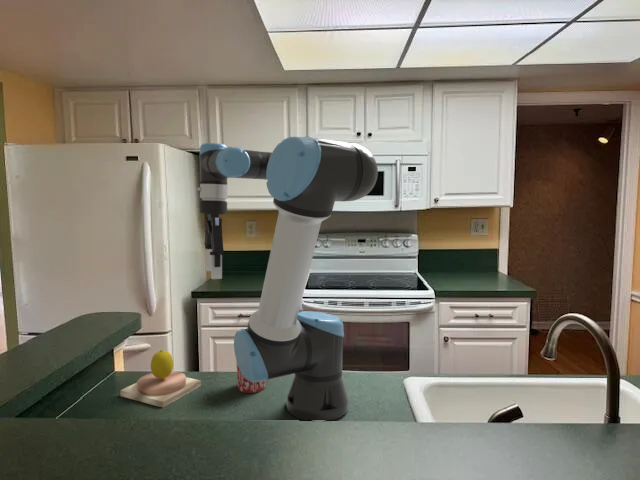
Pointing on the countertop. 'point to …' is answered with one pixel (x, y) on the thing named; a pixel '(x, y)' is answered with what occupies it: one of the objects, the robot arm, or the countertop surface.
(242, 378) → the mug
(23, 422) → the countertop surface
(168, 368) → the lemon
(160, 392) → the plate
